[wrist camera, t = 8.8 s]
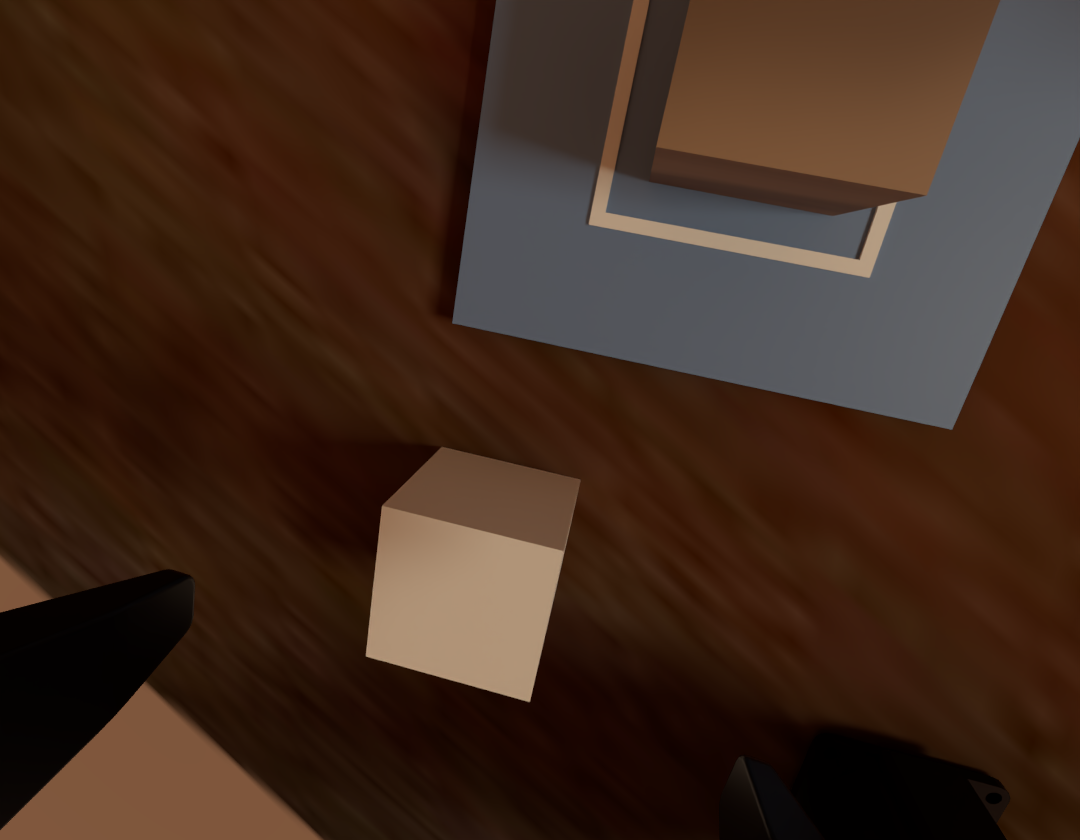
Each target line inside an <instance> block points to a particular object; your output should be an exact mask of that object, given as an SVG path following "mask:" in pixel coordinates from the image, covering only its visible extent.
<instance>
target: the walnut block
mask: <svg viewBox="0 0 1080 840" xmlns="http://www.w3.org/2000/svg"><path fill="white" fill-rule="evenodd" d="M999 2H1000V0H690V3H689V7H688V11H687V16H686V20H685V24H684V29H683V33H682V37H681V42H680V46H679V50H678V55H677V59H676V63H675V68H674V72H673V76H672V81H671V85H670V89H669V94H668V98H667V102H666V106H665V111H664V115H663V119H662V124H661V128H660V132H659V137H658V141H657V145H656V150H655V155H654V160H653V165H652V169H651V174H650V179H649V182H653V183H658V184H663V185H669V186H674V187H680V188H685V189H690V190H696V191H701V192H706V193H712V194H717V195H723V196H728V197H733V198H739V199H744V200H749V201H755V202H760V203H766V204H771V205H776V206H782V207H787V208H792V209H798V210H803V211H809V212H814V213H819V214H825V215H830V216H836V215H840V214H845V213H849V212H854V211H858V210H863V209H867V208H872V207H877V206H881V205H886V204H890V203H895V202H899V201H904V200H909V199H913V198H918V197H922V196H927V194H928V191H929V188H930V186H931V183H932V180H933V178H934V175H935V172H936V170H937V167H938V164H939V162H940V159H941V157H942V154H943V151H944V149H945V146H946V143H947V141H948V138H949V135H950V133H951V130H952V127H953V125H954V122H955V119H956V117H957V114H958V111H959V109H960V106H961V103H962V101H963V98H964V95H965V93H966V90H967V87H968V85H969V82H970V79H971V77H972V74H973V71H974V69H975V66H976V64H977V61H978V58H979V56H980V53H981V50H982V48H983V45H984V42H985V40H986V37H987V34H988V32H989V29H990V26H991V24H992V21H993V18H994V16H995V13H996V10H997V8H998V5H999Z"/></svg>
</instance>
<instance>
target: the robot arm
mask: <svg viewBox="0 0 1080 840" xmlns="http://www.w3.org/2000/svg"><path fill="white" fill-rule="evenodd" d="M194 594H195V581H194V579H193V577H191V576H190V575H188V574H184V573H181V572H178V571H175V570H170V569H167V570H162V571H158V572H155V573H151V574H147V575H143V576H139V577H135V578H131V579H128V580H124V581H120V582H116V583H112V584H108V585H105V586H101V587H97V588H93V589H89V590H85V591H81V592H78V593H74V594H70V595H66V596H62V597H58V598H55V599H51V600H47V601H43V602H39V603H35V604H31V605H28V606H24V607H20V608H16V609H12V610H9V611H5V612H1V613H0V830H1V829H2V828H3V827H4V826H5V825H6V824H7V823H8V822H9V821H10V820H11V819H12V818H13V817H14V816H15V815H16V814H17V813H18V812H19V811H20V810H21V809H22V808H23V807H24V806H25V805H26V804H27V803H28V802H29V801H30V800H31V799H32V798H33V797H34V796H35V795H36V794H37V793H38V792H39V791H40V790H41V789H42V788H43V787H44V786H45V785H46V784H47V783H48V782H49V781H50V780H51V779H52V778H53V777H54V776H55V775H56V774H57V773H58V772H59V771H60V770H61V769H62V768H63V767H64V766H65V765H66V764H67V763H68V762H69V761H70V760H71V759H72V758H73V757H74V756H75V755H76V754H77V753H78V752H79V751H80V750H82V749H83V748H84V746H85V745H87V743H89V742H90V741H91V740H92V739H93V738H94V737H95V735H97V734H98V733H99V732H100V730H102V728H104V727H105V725H106V724H107V723H108V722H109V721H110V720H111V719H112V718H113V717H114V716H115V715H116V714H117V713H118V712H119V710H121V708H122V707H123V706H124V705H125V704H126V703H127V702H128V701H129V699H130V698H131V697H132V696H133V695H134V693H135V692H136V691H137V690H138V689H139V688H140V686H141V685H142V684H143V683H144V682H145V681H146V679H147V678H148V677H149V676H150V675H151V674H152V672H153V671H154V670H155V669H156V668H157V666H158V665H159V664H160V663H161V662H162V661H163V659H164V658H165V657H166V656H167V655H168V654H169V652H170V651H171V650H172V649H173V648H174V646H175V645H176V644H177V643H178V642H179V641H180V639H181V638H182V637H183V636H184V635H185V633H186V632H187V631H188V629H189V627H190V625H191V623H192V620H193V615H194ZM828 748H833V749H830V750H825V749H828ZM1009 801H1010V796H1009V793H1008V792H1007V790H1006V789H1005V787H1004V786H1003V785H1002V783H1001V782H1000V781H999V780H998V779H995V778H993V777H990V776H986V775H982V774H978V773H975V772H971V771H967V770H964V769H960V768H956V767H953V766H949V765H945V764H942V763H938V762H934V761H930V760H927V759H923V758H919V757H916V756H912V755H908V754H905V753H901V752H897V751H894V750H890V749H886V748H882V747H879V746H875V745H871V744H868V743H864V742H860V741H857V740H853V739H849V738H845V737H842V736H838V735H834V734H829V733H824V734H820V735H818V736H816V737H815V739H814V740H813V742H812V744H811V747H810V749H809V751H808V753H807V756H806V758H805V760H804V763H803V765H802V767H801V770H800V772H799V774H798V776H797V779H796V781H795V783H794V786H793V788H792V790H791V792H790V790H789V789H788V788H787V786H786V785H785V784H784V782H783V781H782V779H781V778H780V777H779V775H778V774H777V772H776V771H775V770H774V768H773V767H772V766H771V765H770V764H769V763H767V762H765V761H763V760H760V759H757V758H753V757H750V756H747V755H741V756H740V757H739V758H738V759H737V760H736V762H735V765H734V767H733V769H732V771H731V774H730V776H729V778H728V780H727V783H726V785H725V787H724V789H723V792H722V794H721V798H720V804H719V834H720V840H1007V839H1006V838H1005V836H1004V835H1003V833H1002V832H1001V830H1000V828H999V827H998V825H997V824H996V823H997V822H998V820H999V818H1000V817H1001V815H1002V813H1003V812H1004V810H1005V808H1006V807H1007V805H1008V803H1009Z"/></svg>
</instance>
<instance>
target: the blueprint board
mask: <svg viewBox="0 0 1080 840" xmlns="http://www.w3.org/2000/svg"><path fill="white" fill-rule="evenodd" d="M689 3H690V0H496V6H495V13H494V21H493V28H492V36H491V43H490V50H489V58H488V65H487V72H486V80H485V87H484V94H483V102H482V109H481V116H480V124H479V131H478V138H477V146H476V153H475V160H474V168H473V175H472V182H471V190H470V197H469V204H468V212H467V219H466V226H465V234H464V241H463V248H462V256H461V263H460V270H459V278H458V285H457V292H456V300H455V307H454V314H453V322H452V323H454V324H459V325H464V326H468V327H473V328H478V329H482V330H487V331H492V332H496V333H501V334H506V335H511V336H515V337H520V338H525V339H529V340H534V341H539V342H543V343H548V344H553V345H557V346H562V347H567V348H572V349H576V350H581V351H586V352H590V353H595V354H600V355H604V356H609V357H614V358H618V359H623V360H628V361H632V362H637V363H642V364H647V365H651V366H656V367H661V368H665V369H670V370H675V371H679V372H684V373H689V374H693V375H698V376H703V377H708V378H712V379H717V380H722V381H726V382H731V383H736V384H740V385H745V386H750V387H754V388H759V389H764V390H769V391H773V392H778V393H783V394H787V395H792V396H797V397H801V398H806V399H811V400H815V401H820V402H825V403H829V404H834V405H839V406H844V407H848V408H853V409H858V410H862V411H867V412H872V413H876V414H881V415H886V416H890V417H895V418H900V419H905V420H909V421H914V422H919V423H923V424H928V425H933V426H937V427H942V428H947V429H951V430H952V429H953V426H954V424H955V422H956V420H957V417H958V415H959V413H960V410H961V408H962V406H963V404H964V401H965V399H966V397H967V394H968V392H969V390H970V388H971V385H972V383H973V381H974V378H975V376H976V374H977V371H978V369H979V367H980V365H981V362H982V360H983V358H984V355H985V353H986V351H987V349H988V346H989V344H990V342H991V339H992V337H993V335H994V333H995V330H996V328H997V326H998V323H999V321H1000V319H1001V316H1002V314H1003V312H1004V310H1005V307H1006V305H1007V303H1008V300H1009V298H1010V296H1011V294H1012V291H1013V289H1014V287H1015V284H1016V282H1017V280H1018V278H1019V275H1020V273H1021V271H1022V268H1023V266H1024V264H1025V262H1026V259H1027V257H1028V255H1029V252H1030V250H1031V248H1032V245H1033V243H1034V241H1035V239H1036V236H1037V234H1038V232H1039V229H1040V227H1041V225H1042V223H1043V220H1044V218H1045V216H1046V213H1047V211H1048V209H1049V207H1050V204H1051V202H1052V200H1053V197H1054V195H1055V193H1056V191H1057V188H1058V186H1059V184H1060V181H1061V179H1062V177H1063V174H1064V172H1065V170H1066V168H1067V165H1068V163H1069V161H1070V158H1071V156H1072V154H1073V152H1074V149H1075V147H1076V145H1077V142H1078V140H1079V138H1080V0H1000V2H999V5H998V8H997V10H996V13H995V16H994V18H993V21H992V24H991V26H990V29H989V32H988V34H987V37H986V40H985V42H984V45H983V48H982V50H981V53H980V56H979V58H978V61H977V64H976V66H975V69H974V71H973V74H972V77H971V79H970V82H969V85H968V87H967V90H966V93H965V95H964V98H963V101H962V103H961V106H960V109H959V111H958V114H957V117H956V119H955V122H954V125H953V127H952V130H951V133H950V135H949V138H948V141H947V143H946V146H945V149H944V151H943V154H942V157H941V159H940V162H939V164H938V167H937V170H936V172H935V175H934V178H933V180H932V183H931V186H930V188H929V191H928V194H927V196H922V197H918V198H913V199H909V200H904V201H899V202H895V203H890V204H886V205H881V206H877V207H872V208H867V209H863V210H858V211H854V212H849V213H845V214H840V215H836V216H830V215H825V214H819V213H814V212H809V211H803V210H798V209H792V208H787V207H782V206H776V205H771V204H766V203H760V202H755V201H749V200H744V199H739V198H733V197H728V196H723V195H717V194H712V193H706V192H701V191H696V190H690V189H685V188H680V187H674V186H669V185H663V184H658V183H653V182H649V179H650V174H651V169H652V165H653V160H654V155H655V150H656V145H657V141H658V137H659V132H660V128H661V124H662V119H663V115H664V111H665V106H666V102H667V98H668V94H669V89H670V85H671V81H672V76H673V72H674V68H675V63H676V59H677V55H678V50H679V46H680V42H681V37H682V33H683V29H684V24H685V20H686V16H687V11H688V7H689Z"/></svg>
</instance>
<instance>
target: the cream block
mask: <svg viewBox="0 0 1080 840" xmlns="http://www.w3.org/2000/svg"><path fill="white" fill-rule="evenodd" d="M579 485H580V479H576V478H572V477H567V476H563V475H559V474H555V473H550V472H546V471H542V470H538V469H534V468H529V467H525V466H521V465H517V464H512V463H508V462H504V461H500V460H495V459H491V458H487V457H483V456H479V455H474V454H470V453H466V452H462V451H457V450H453V449H449V448H445V447H441V448H440V449H439V450H438V451H437V452H436V453H435V454H434V455H433V456H432V457H431V458H430V459H429V460H428V461H427V462H426V463H425V464H424V465H423V466H422V467H421V468H420V469H419V470H418V471H417V472H416V473H415V474H414V475H413V476H412V477H411V478H410V479H409V480H408V481H407V482H406V483H405V484H404V485H403V486H402V487H401V488H400V489H399V490H398V491H397V492H396V493H395V494H394V495H393V496H391V497H390V498H389V499H388V500H387V501H386V502H385V503H384V504H383V505H382V511H381V520H380V529H379V539H378V548H377V557H376V566H375V576H374V585H373V594H372V604H371V613H370V622H369V631H368V641H367V650H366V657H370V658H374V659H377V660H381V661H384V662H388V663H391V664H395V665H399V666H402V667H406V668H409V669H413V670H417V671H420V672H424V673H427V674H431V675H434V676H438V677H442V678H445V679H449V680H452V681H456V682H460V683H463V684H467V685H470V686H474V687H477V688H481V689H485V690H488V691H492V692H495V693H499V694H503V695H506V696H510V697H513V698H517V699H520V700H524V701H528V702H530V699H531V695H532V691H533V686H534V682H535V678H536V673H537V669H538V665H539V660H540V656H541V652H542V647H543V643H544V639H545V635H546V630H547V626H548V622H549V617H550V613H551V609H552V604H553V600H554V596H555V591H556V587H557V582H558V578H559V573H560V569H561V565H562V560H563V556H564V551H565V547H566V542H567V538H568V534H569V529H570V525H571V520H572V516H573V511H574V507H575V503H576V498H577V494H578V489H579Z"/></svg>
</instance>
